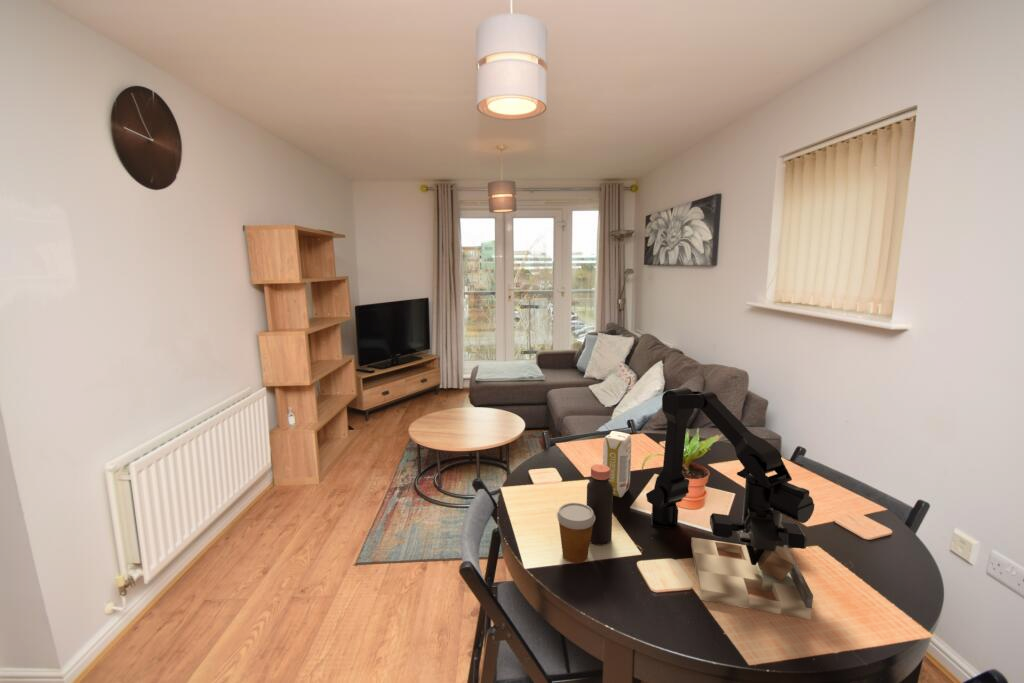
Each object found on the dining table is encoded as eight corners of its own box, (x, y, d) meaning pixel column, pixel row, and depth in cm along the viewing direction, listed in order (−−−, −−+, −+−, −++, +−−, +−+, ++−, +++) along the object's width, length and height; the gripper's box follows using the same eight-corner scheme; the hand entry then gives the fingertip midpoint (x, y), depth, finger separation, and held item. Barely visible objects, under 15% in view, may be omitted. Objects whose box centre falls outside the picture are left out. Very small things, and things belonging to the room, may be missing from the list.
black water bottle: (616, 538, 121) (618, 467, 118) (602, 549, 116) (604, 476, 113) (594, 528, 125) (596, 460, 122) (580, 538, 121) (582, 468, 117)
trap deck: (700, 599, 98) (702, 576, 97) (691, 546, 117) (692, 526, 116) (810, 619, 92) (813, 595, 92) (781, 559, 111) (783, 539, 111)
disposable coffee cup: (585, 572, 107) (586, 526, 105) (549, 559, 112) (550, 514, 110) (600, 551, 115) (601, 508, 113) (566, 540, 120) (566, 498, 118)
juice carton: (631, 488, 148) (633, 433, 145) (622, 499, 141) (624, 442, 138) (609, 482, 152) (611, 429, 149) (599, 493, 145) (601, 437, 142)
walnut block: (759, 569, 101) (771, 552, 100) (755, 555, 106) (766, 539, 104) (781, 581, 100) (794, 565, 99) (776, 567, 105) (788, 551, 103)
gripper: (719, 513, 96) (714, 579, 99) (819, 526, 91) (811, 595, 93) (711, 489, 107) (707, 549, 109) (800, 499, 102) (794, 562, 104)
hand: (752, 564), depth 104 cm, fingers closed
